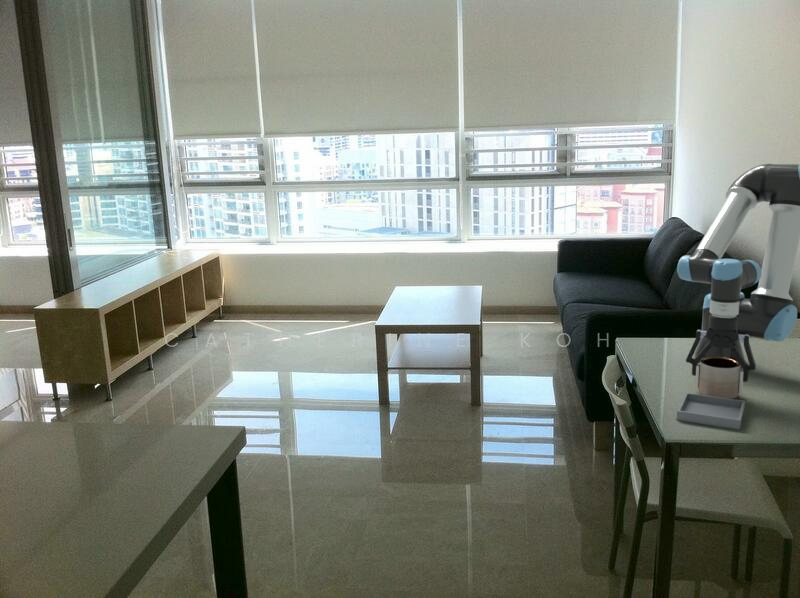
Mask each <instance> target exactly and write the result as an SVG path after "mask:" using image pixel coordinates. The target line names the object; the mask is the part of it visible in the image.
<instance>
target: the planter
mask: <svg viewBox="0 0 800 598" xmlns="http://www.w3.org/2000/svg"><path fill="white" fill-rule="evenodd" d="M741 368H742V367H741V365H740V363H739V362H738V361H736V360H734V359H730V358H725V357H706V358H703V359H701V360H700V371H699V383H698V388H697V391H698V394H700V395H707V396H714V397H721V398H729V399H737V397H738V396H739V395H740V393H739V384H740V371H741Z"/></svg>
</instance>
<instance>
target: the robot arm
mask: <svg viewBox="0 0 800 598" xmlns="http://www.w3.org/2000/svg"><path fill="white" fill-rule="evenodd" d="M725 198H726V199H725V200H724V202H723V204H722V205H721V208H720V209H719V211H718V213H717V215H716V216H715V217H714V219H713V221H712V222H711V224H710V226H709V228H708V229H707V231H706V232H705V234H704V236H703V238H702V239H701V241H700V242H699V244H698V246H697V247H696V249H695V251H694V252H693V254H692V255H691V254H689V255H683V256H681V257H680V259H679V260H678V263H677V266H676V271H677V274H678V275H677V276H678V278H679V279H681V280H684V281H688V282H692V283H701V284H710V285H711V286H710V287H711V288H710V292H709V293H708V294H706V295H705V296H704V299H703V306H702V321H701V329H700V328H699V329H697V330H696V332H695V339H694V341H693V343H692V345H691V348H690V350H689V353H688V355H687V357H686V358H685V361H686V363H689V364H691V365H692V366H691V367H692V368H691V375H692V376H694V377H695V380H694V381H695V383H694V388H697V389H698V383H699V371H700V360H701V359H703V358H706V357H725V358H730V359H734V360H736V361H738V362H739V363H740V365H741V371H740V384H739V394H741V395H742V394H743V389H744V382H745V383H747V382H748V381H749V372H750V371H755V370H756V368H757V363H756V361H755V357H754V354H753V351H752V348H751V344H750V338H753V339H759V340H764V341H767V342H768V341H771V342H778V343H779V342H784V341H785V340H786V339H788V338H789V336H790V335H791V334H792V332H793V330H794V328H795V325H796V323H797V319H798V308H797V307H796V305H794V304H793V300H794V299H793V298H792V297H791V295H790V294H789V292H790V288H791V287H790V286H791V282H792V277H793V273H794V268H795V264H796V258H797V253H798V250H799V249H798V248H799V244H800V243H799V242H800V164H798V163H797V164H793V163H792V164H789V163H788V164H787V163H786V164H785V163H784V164H777V163H776V164H774V163H773V164H772V163H764V164H759V165H757V166H754V167H752V168H749V169H748V170H746V171H745V172H743V173H742V174H741V175H739V177H737V178H736V180H734V181H733V182H732V184H730V186H729V187H728V189H727V191H726V192H725ZM761 202H765V203H769V204H768V208H769V209H770V210H771V211H772V217H771V222H770V227H769V232H768V236H767V241H766V245H765V251H764V257H763V261H762V265H761V267H760V265H759V263H757V262H756V261H754V260H752V259H751V260H750V259H742V260H739V259H735V258H723V257H724V254H725V253H726V251H727V249H728V248H729V245H730V244H731V242H732V241H733V239H734V237H735V235H736V234H737V232H738V231H739V228H740V227H741V225H742V223H743V221H744V220H745V218H746V217H747V214H748V213H749V211H751V210H753V209H754V208H756V206H757V204H758V203H761ZM757 283H758V285H757V288H756V289H755V290H753V291H752V292H751V293H750V298H745V293H743V292H742V291H741V290H744V289H747V288H750V287H752V286H754V285H755V284H757ZM742 343H743V346H742ZM743 348H744V349H743ZM744 350H745V354H744ZM745 355H746V356H745ZM745 357H747V360H748V363H747V361H746V360H745V359H746V358H745Z"/></svg>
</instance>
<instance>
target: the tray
mask: <svg viewBox="0 0 800 598" xmlns="http://www.w3.org/2000/svg"><path fill="white" fill-rule="evenodd" d="M745 406H746V400H742V399H737V398H734V399H729V398H721V397H714V396H707V395H702V394H700V393H692V392H685V394H684V396H683V398H682V399H681V402H680V404H679V407H678V408H677V411H676V420H677V421H682V422H687V423H688V422H689V423H693V424H694V423H695V424H701V425H708V426H713V427H714V426H715V427H719V428H726V429H733V430H739V431H740V429H741V426H742V420H743V417H744V413H745Z"/></svg>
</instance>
